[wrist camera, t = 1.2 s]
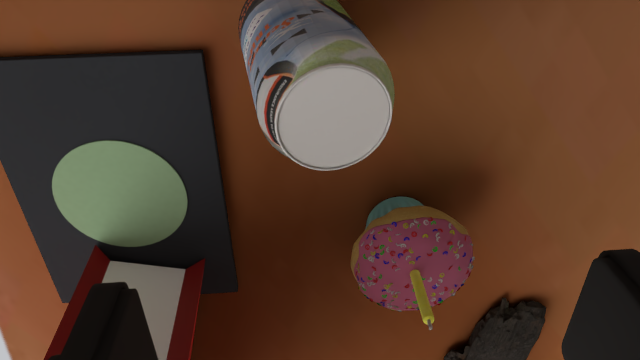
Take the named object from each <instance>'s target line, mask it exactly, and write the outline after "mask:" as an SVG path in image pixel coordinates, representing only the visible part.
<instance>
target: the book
mask: <svg viewBox="0 0 640 360" xmlns="http://www.w3.org/2000/svg"><path fill="white" fill-rule="evenodd" d="M204 265H205V258H204V259H203V260H201V261H199V262H197V263H196V264H194V265H192V266H190V267H189V268H187V269H178V268H170V267H161V266H152V265H144V264H135V263H126V262H118V261H110V260H109V259H108V257H107V256H106V255H105V254H104V253H103V252H102V251H101V250H100V249H99V248H98V247H97V246H96V245H95V247H94V249H93V251H92V253H91V256H90V258H89V260H88V262H87V265H86V267H85V269H84V271H83V274H82V276H81V278H80V280H79V282H78V285H77V287H76V289H75V291H74V294H73V296H72V298H71V300H70V302H69V305H68V307H67V309H66V311H65V314H64V316H63V318H62V320H61V322H60V325H59V327H58V329H57V331H56V334H55V336H54V338H53V340H52V342H51V345H50V347H49V349H48V351H47V354H46V356H45V358H44V360H48V359H49V358H50V357H51V356H54V355H59V354H61V353H62V350H63V348H64V346H65V344H66V342H67V339H68V337H69V335H70V333H71V330H72V328H73V326H74V324H75V322H76V319H77V317H78V315H79V313H80V310H81V308H82V306H83V304H84V302H85V299H86V297H87V295H88V293H89V290H90V289H91V287H92V285H94V284H96V283H112V282H126V283H127V285H128V287H129V289H133V288H135V289H136V290H137V291H138V294H139V297H140V301H141V304H142V307H143V310H144V314H145V317H146V320H147V324H148V327H149V330H150V334H151V337H152V340H153V344H154V347H155V350H156V354H157V357H158V360H190V359H191V352H192V345H193V339H194V332H195V325H196V319H197V312H198V305H199V299H200V292H201V285H202V279H203V272H204Z"/></svg>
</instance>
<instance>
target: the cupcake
mask: <svg viewBox="0 0 640 360" xmlns="http://www.w3.org/2000/svg"><path fill="white" fill-rule="evenodd" d="M472 246H473V244H472V241H471V238H470V236H469V234H468V232H467V230H466V228H465V227H464V226H462V225H461V224H460V223H458V222H457V221H456V220H455V219H453V218H452V217H450V216H449V215H447V214H445V213H444V212H442V211H439V210H437V209H434V208H431V207H427V206H424V205H423V204H421V203H420V202H419V201H417V200H415V199H413V198H409V197H393V198H389V199H387V200H384V201H382V202H381V203H379V204H378V205H377V206H375V207H374V208H373V210H372V211H371V212H370V214H369V216H368V219H367V223H366V228H365V231H364V232H363V233H362V234H361V235H360V236H359V238H358V239H357V240H356V241H355V243H354V245H353V248H352V256H351V270H352V273H353V275H354V277H355V279H356V281H357V282H358V284H359V286H358V289H359V290H360V291H361V292H362V293H364V294H365V295H364V296H366V297H367V298H368V297H369V298H368V299H370V301H371V302H373V301H375V302H376V303H377V304H378V305H380V306H383V307H386V308H389V309H390V310H397V311H399V312H401V310H419V309H420V313H421V316H422V320H423V322H424V323H425V324H427V325H428V327H429V329H430V330H432V323H433V322H434V316H433V313H432V310H431V307H432V306H434V305H440V304H441V303H442V302H443V300H445V299H447V298H448V297H450V296H454V295H455V293H456V291H458V290H459V289H460V286H463V285H464V284H463V283H464V282H465V280H466V279H467V278H468V277H469V276H470V273H471V269H472V268H473V265H472V261H473V260H474V259H475V257H473V249H472Z"/></svg>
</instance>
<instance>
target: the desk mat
mask: <svg viewBox="0 0 640 360" xmlns="http://www.w3.org/2000/svg"><path fill="white" fill-rule="evenodd" d="M0 160H1V163H2V165H3V167H4V170H5V172H6V174H7V176H8V179H9V181H10V183H11V186H12V188H13V190H14V193H15V195H16V197H17V199H18V202H19V204H20V206H21V209H22V211H23V213H24V215H25V218H26V220H27V222H28V225H29V227H30V229H31V232H32V234H33V236H34V238H35V241H36V243H37V245H38V248H39V250H40V252H41V254H42V257H43V259H44V261H45V264H46V266H47V268H48V271H49V273H50V275H51V277H52V280H53V282H54V284H55V287H56V289H57V291H58V293H59V296H60V298H61V300H62V303H69V302H70V300H71V298H72V296H73V294H74V291H75V289H76V287H77V285H78V282H79V280H80V278H81V276H82V274H83V271H84V269H85V267H86V265H87V262H88V260H89V258H90V256H91V253H92V251H93V249H94V247H95V245H96V246H97V247H98V248H99V249H100V250H101V251H102V252H103V253H104V254H105V255H106V256H107V257H108V259H109V260H110V261H118V262H126V263H135V264H144V265H152V266H161V267H170V268H178V269H187V268H189V267H190V266H192V265H194V264H196V263H197V262H199V261H201V260H203V259H204V258H205V265H204V272H203V279H202V285H201V292H200V294H211V293H227V292H238V282H237V275H236V269H235V262H234V255H233V249H232V242H231V235H230V228H229V222H228V215H227V208H226V202H225V195H224V188H223V181H222V175H221V168H220V161H219V155H218V148H217V141H216V134H215V128H214V121H213V114H212V107H211V101H210V94H209V87H208V81H207V74H206V67H205V60H204V54H203V50H184V51H157V52H130V53H104V54H77V55H50V56H23V57H0Z"/></svg>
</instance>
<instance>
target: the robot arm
mask: <svg viewBox="0 0 640 360" xmlns="http://www.w3.org/2000/svg"><path fill="white" fill-rule="evenodd" d="M562 354H563V357H564V359H565V360H640V252H638V251H637V250H634V249H623V250H608V251H603V252H602V253H600V255H599V257H598V258H596V259H594V260H593V262H592V264H591V266H590V269H589V272H588V274H587V277H586V280H585V282H584V285H583V288H582V290H581V293H580V296H579V299H578V301H577V304H576V307H575V309H574V312H573V315H572V317H571V320H570V323H569V325H568V328H567V331H566V333H565V336H564V339H563V342H562ZM48 360H158V357H157V354H156V350H155V347H154V344H153V340H152V337H151V334H150V330H149V327H148V324H147V320H146V317H145V314H144V310H143V307H142V304H141V301H140V297H139V294H138V291H137V290H136V289H135V288H133V289H129V287H128V285H127V283H126V282H112V283H96V284H94V285H92V287H91V289H90V290H89V293H88V295H87V297H86V299H85V302H84V304H83V306H82V308H81V310H80V313H79V315H78V317H77V319H76V322H75V324H74V326H73V328H72V330H71V333H70V335H69V337H68V339H67V342H66V344H65V346H64V348H63V350H62V353H61V354H59V355H54V356H51V357H50V358H49V359H48Z"/></svg>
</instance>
